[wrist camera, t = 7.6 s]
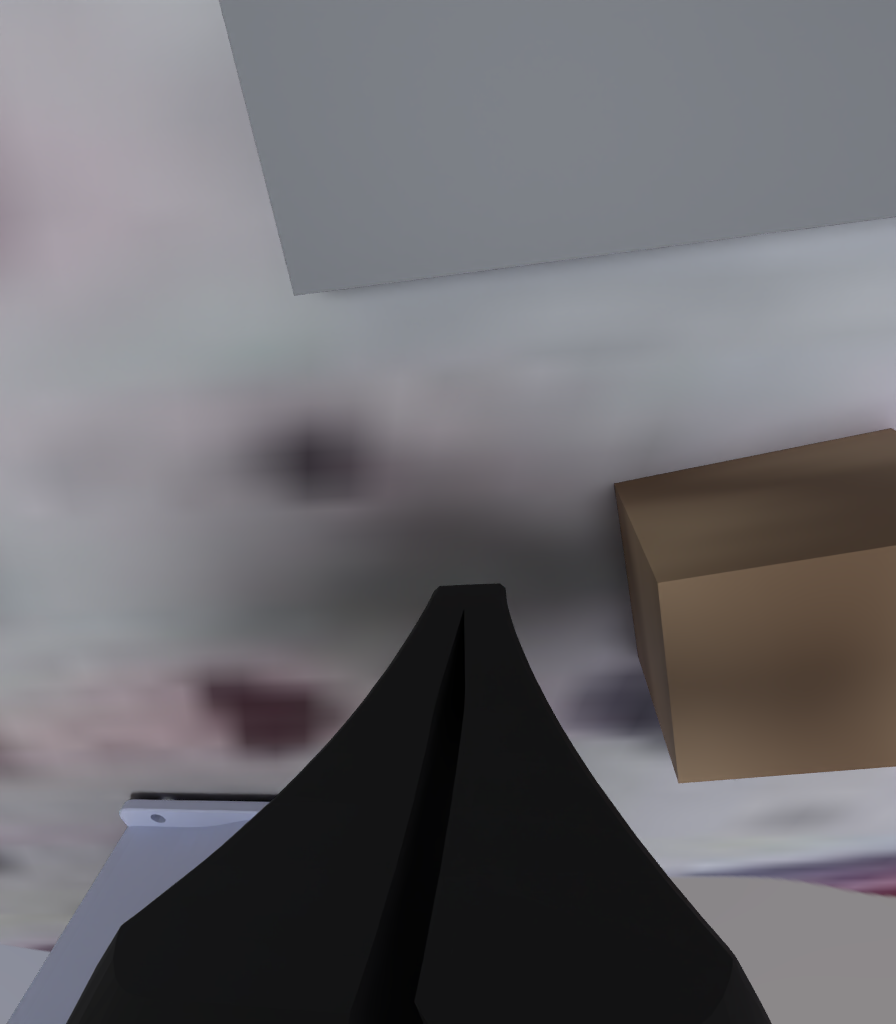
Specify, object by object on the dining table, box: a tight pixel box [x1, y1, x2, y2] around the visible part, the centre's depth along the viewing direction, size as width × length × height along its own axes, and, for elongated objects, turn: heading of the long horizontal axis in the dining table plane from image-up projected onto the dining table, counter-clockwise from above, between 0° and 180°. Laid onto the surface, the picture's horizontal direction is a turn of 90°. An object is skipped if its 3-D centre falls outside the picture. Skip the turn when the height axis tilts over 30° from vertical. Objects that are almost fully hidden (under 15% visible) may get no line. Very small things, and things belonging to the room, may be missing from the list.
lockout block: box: [614, 428, 896, 783], centre depth 10 cm, size 5×5×4 cm
